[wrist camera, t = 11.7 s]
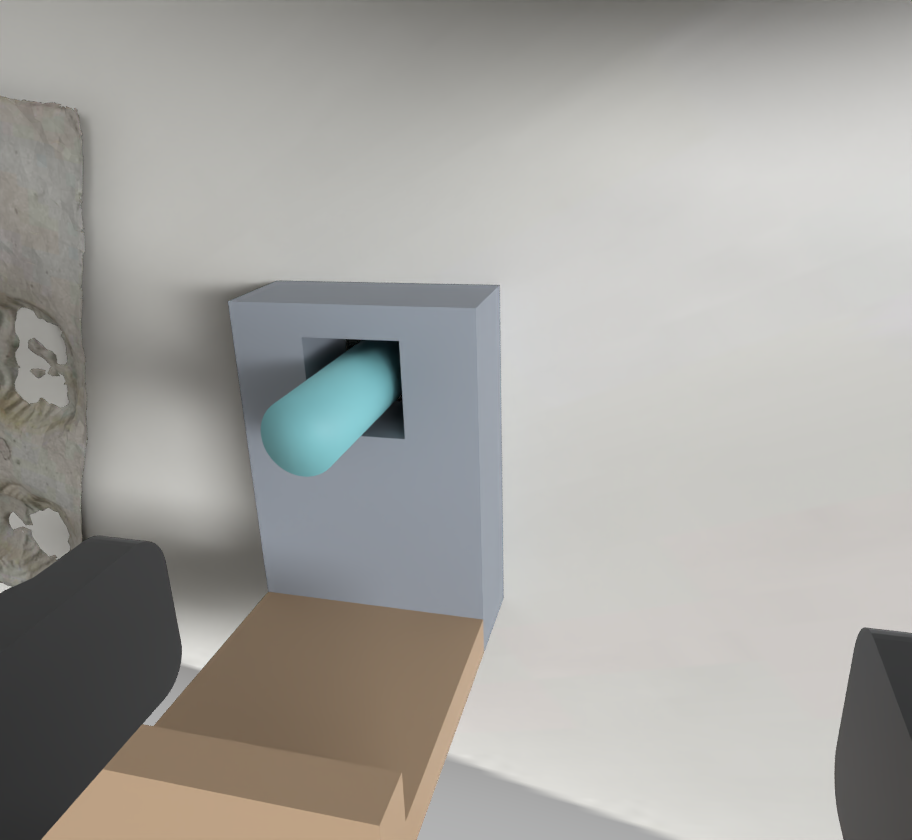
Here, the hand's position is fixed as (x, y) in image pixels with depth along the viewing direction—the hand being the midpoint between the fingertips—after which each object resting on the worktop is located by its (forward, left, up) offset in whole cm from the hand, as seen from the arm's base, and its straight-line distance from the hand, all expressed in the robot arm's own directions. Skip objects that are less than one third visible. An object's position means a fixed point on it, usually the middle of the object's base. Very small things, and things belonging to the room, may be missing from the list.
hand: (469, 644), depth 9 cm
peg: (+6, -12, -30) cm, 33 cm away
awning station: (+11, -12, -30) cm, 34 cm away
